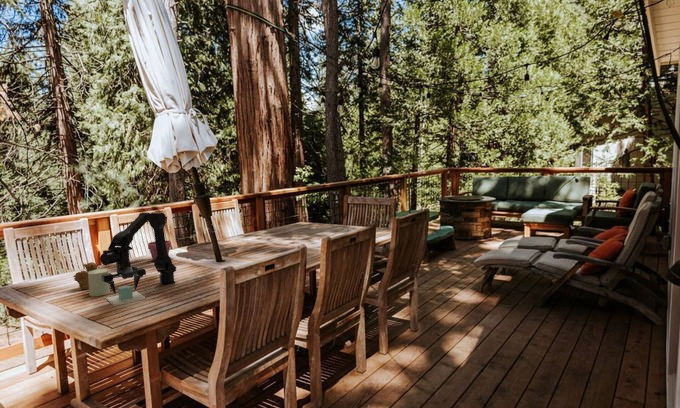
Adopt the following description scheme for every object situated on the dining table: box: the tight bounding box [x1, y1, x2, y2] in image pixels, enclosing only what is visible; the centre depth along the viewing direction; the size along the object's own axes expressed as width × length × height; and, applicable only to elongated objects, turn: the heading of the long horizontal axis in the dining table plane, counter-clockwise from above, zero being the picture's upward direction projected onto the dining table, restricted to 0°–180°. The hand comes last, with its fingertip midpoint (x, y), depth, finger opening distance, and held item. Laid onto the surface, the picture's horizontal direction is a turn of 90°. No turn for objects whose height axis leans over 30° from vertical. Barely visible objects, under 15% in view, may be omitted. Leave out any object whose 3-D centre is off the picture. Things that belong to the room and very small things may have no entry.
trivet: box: [105, 290, 146, 307], centre depth 205 cm, size 14×14×1 cm
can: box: [88, 268, 111, 297], centre depth 215 cm, size 9×9×12 cm
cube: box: [117, 285, 133, 300], centre depth 205 cm, size 5×5×5 cm
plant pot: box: [147, 240, 172, 263], centre depth 285 cm, size 14×14×13 cm
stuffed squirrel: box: [72, 261, 101, 290], centre depth 226 cm, size 10×14×13 cm
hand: (125, 291), depth 205 cm, fingers open, 9 cm apart
